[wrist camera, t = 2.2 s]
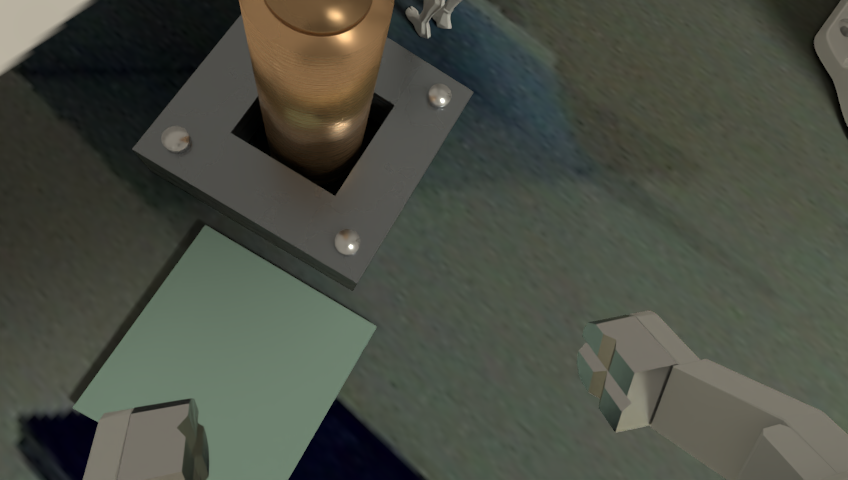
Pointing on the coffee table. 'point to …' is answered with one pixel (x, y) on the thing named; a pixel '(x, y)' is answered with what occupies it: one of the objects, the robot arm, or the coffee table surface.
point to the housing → (284, 188)
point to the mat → (235, 357)
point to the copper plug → (316, 78)
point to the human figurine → (432, 15)
